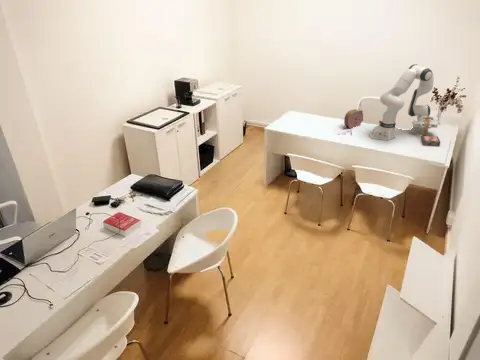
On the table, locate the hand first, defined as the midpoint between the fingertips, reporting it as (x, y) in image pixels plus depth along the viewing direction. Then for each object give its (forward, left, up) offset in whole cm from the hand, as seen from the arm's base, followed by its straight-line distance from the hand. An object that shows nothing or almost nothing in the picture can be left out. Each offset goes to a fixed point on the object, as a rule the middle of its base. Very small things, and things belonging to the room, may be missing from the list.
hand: (426, 127), depth 317 cm
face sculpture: (-62, +22, -10) cm, 67 cm away
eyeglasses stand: (0, +1, -10) cm, 10 cm away
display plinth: (+3, -11, -10) cm, 15 cm away
